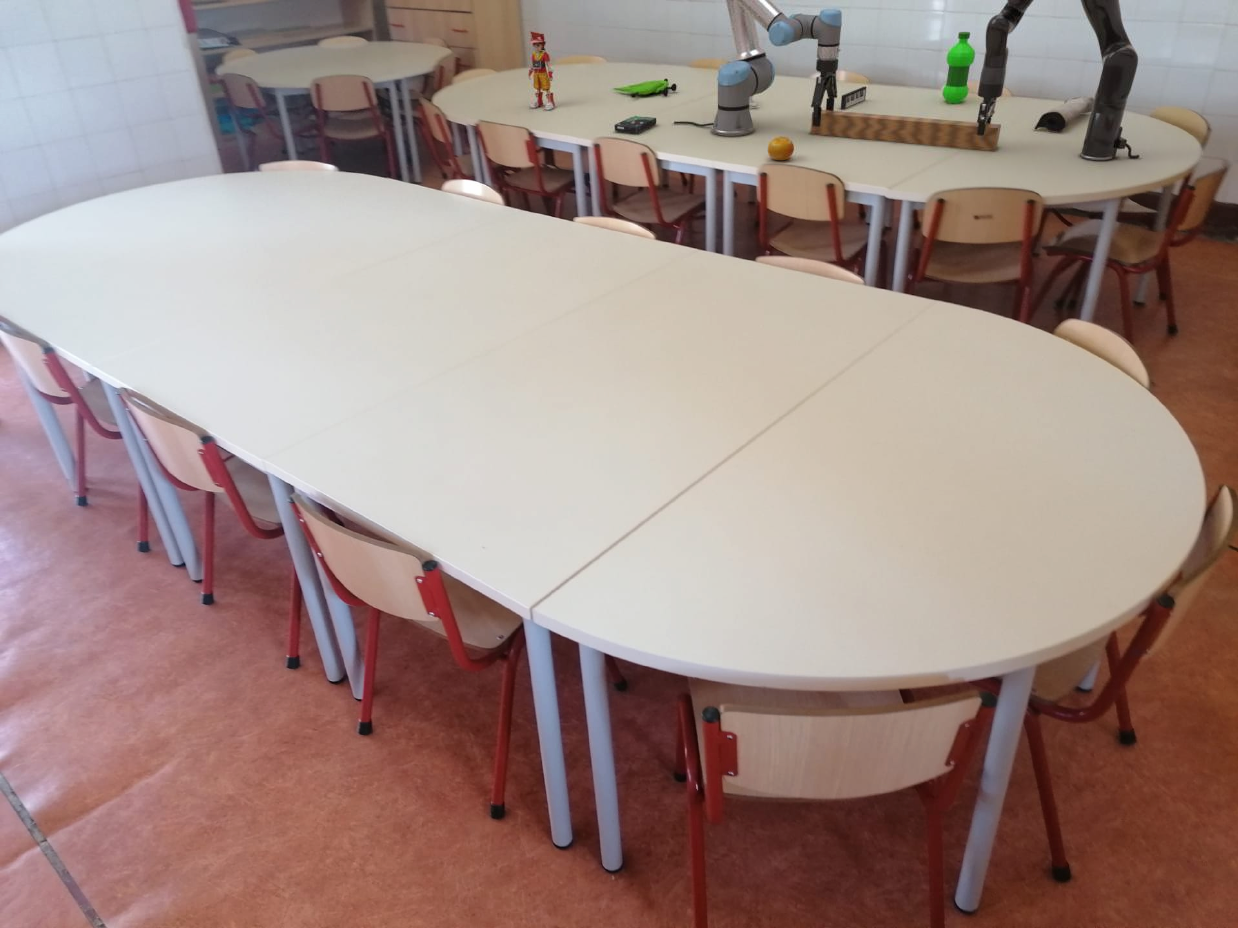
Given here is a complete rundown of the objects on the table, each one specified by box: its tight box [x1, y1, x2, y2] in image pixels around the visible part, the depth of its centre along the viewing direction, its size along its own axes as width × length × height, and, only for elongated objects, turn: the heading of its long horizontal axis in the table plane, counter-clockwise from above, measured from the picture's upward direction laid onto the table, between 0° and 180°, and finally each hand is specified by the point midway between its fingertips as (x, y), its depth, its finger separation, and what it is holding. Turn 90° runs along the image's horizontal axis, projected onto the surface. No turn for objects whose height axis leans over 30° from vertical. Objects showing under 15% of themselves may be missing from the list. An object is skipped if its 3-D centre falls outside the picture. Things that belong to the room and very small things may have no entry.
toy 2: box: [612, 78, 677, 99], centre depth 396 cm, size 28×5×30 cm
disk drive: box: [614, 115, 657, 135], centre depth 346 cm, size 10×3×15 cm
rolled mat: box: [1034, 96, 1094, 133], centre depth 322 cm, size 30×9×10 cm
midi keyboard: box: [840, 86, 867, 110], centre depth 358 cm, size 18×1×5 cm, turn 138°
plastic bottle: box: [942, 31, 976, 104], centre depth 348 cm, size 10×10×25 cm
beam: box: [810, 109, 1002, 152], centre depth 314 cm, size 64×5×8 cm, turn 59°
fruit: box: [767, 136, 795, 161], centre depth 303 cm, size 8×8×8 cm
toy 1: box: [527, 31, 556, 111], centre depth 374 cm, size 12×9×30 cm
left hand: (822, 121), depth 326 cm, fingers open, 13 cm apart
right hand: (983, 132), depth 301 cm, fingers open, 8 cm apart
